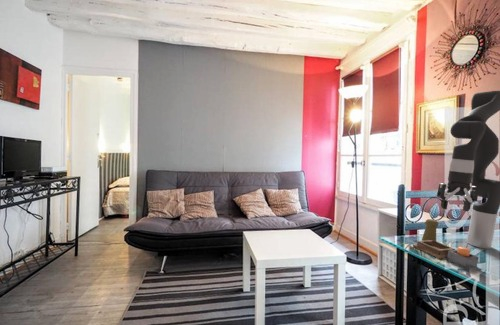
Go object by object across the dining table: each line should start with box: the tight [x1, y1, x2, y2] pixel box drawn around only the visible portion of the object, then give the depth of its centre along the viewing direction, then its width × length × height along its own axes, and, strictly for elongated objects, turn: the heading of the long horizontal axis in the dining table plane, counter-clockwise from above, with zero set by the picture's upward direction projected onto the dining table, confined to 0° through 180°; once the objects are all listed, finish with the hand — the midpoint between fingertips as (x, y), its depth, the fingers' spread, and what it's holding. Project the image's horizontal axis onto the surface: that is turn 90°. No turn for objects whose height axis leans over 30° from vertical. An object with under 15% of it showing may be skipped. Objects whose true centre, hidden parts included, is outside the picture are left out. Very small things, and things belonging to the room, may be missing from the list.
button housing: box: [446, 249, 479, 269], centre depth 107 cm, size 7×7×4 cm
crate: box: [412, 240, 456, 259], centre depth 117 cm, size 12×12×3 cm
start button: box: [456, 246, 471, 257], centre depth 107 cm, size 4×4×3 cm
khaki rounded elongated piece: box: [421, 218, 439, 242], centre depth 130 cm, size 6×6×11 cm
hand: (454, 209), depth 108 cm, fingers open, 8 cm apart
